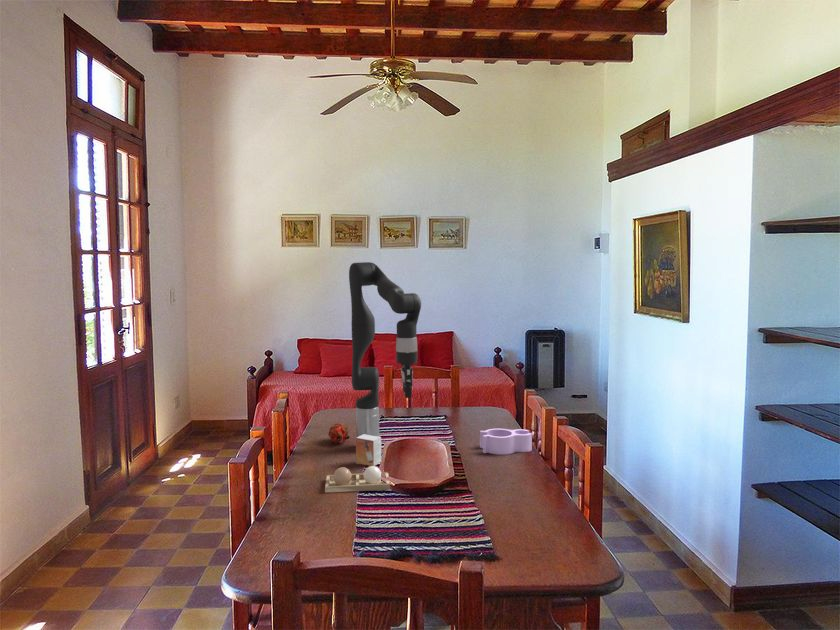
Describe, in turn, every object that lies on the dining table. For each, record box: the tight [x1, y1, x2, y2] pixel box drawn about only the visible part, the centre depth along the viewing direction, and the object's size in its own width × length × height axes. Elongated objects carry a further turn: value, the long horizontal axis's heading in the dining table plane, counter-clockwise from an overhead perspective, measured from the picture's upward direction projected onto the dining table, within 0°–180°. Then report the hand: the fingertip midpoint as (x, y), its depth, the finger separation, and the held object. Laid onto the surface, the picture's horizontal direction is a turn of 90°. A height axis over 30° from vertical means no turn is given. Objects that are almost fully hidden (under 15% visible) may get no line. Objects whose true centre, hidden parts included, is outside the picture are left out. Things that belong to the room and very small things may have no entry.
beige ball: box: [333, 466, 352, 486], centre depth 189 cm, size 6×6×6 cm
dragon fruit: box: [328, 422, 351, 445], centre depth 237 cm, size 8×8×12 cm
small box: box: [355, 434, 382, 467], centre depth 211 cm, size 8×6×10 cm
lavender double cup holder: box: [479, 428, 533, 455], centre depth 227 cm, size 20×12×7 cm, turn 95°
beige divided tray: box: [324, 471, 391, 494], centre depth 190 cm, size 11×21×2 cm, turn 96°
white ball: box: [363, 465, 382, 484], centre depth 190 cm, size 6×6×6 cm
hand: (407, 394), depth 201 cm, fingers open, 8 cm apart
